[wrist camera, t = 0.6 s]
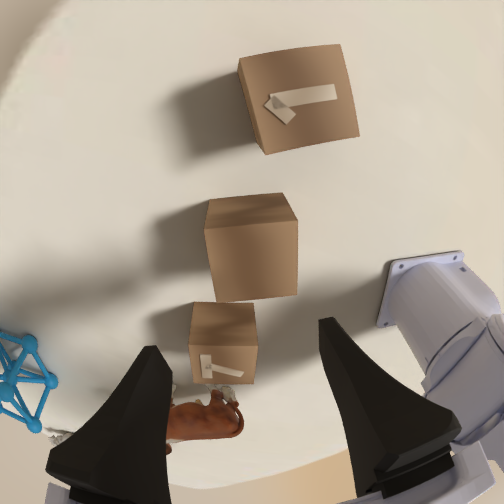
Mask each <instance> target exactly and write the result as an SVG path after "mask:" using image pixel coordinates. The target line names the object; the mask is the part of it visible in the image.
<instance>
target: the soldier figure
mask: <svg viewBox="0 0 504 504" xmlns="http://www.w3.org/2000/svg"><path fill="white" fill-rule="evenodd" d="M71 435H73V433H70V432H69V433H66V434H64V435H63V436H62V435H60V436H57V437H56V438H55V436H54V435H53V436H52V437H48V438H49V441H50V442H51V443H52V444H53V445H54V446H56V445H59V444H60V443H62V442H63V441H65V440H66V439H67V438H69V437H70V436H71Z"/></svg>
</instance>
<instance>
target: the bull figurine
mask: <svg viewBox="0 0 504 504" xmlns="http://www.w3.org/2000/svg"><path fill="white" fill-rule="evenodd" d="M204 385H205V386H207V387H208V389H209V391H210V393H211V400H210V403H209V405H207V406H204V405H203V404H202V402H201V401H200V400H199V399H198V400H196V401H195V402H188V403H183V404H180V405H175V404H173V393H174V391H175V390H176V385H175V384H173V383H172V397H171V404H170V411H169V418H168V425H167V433H166V444H167V443H177V442H181V441H186V440H199V439H221V438H232V437H235V436H237V435H239V434H240V433H241V432H242V430H243V427H244V419H243V416H242V414H241V412H240V411H239V409H238V408H237V407H238V406H239V403H238V402H237V400H236V397H235V391H234V390H231V388H230V387H225V386H223V387H222V390H221V391H219V390H218V389H217V388H216V386H215V384H204ZM222 399H224V400H225V401H226V402H227V404H226V405H225V403H224V401H223V400H222ZM235 411H236V413H237V414H238V416H239V418H238V416H237V415H236V413H235Z"/></svg>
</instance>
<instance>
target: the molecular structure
mask: <svg viewBox="0 0 504 504" xmlns="http://www.w3.org/2000/svg"><path fill="white" fill-rule="evenodd" d="M0 337H1V338H3V339H6V340H9V341H12V342H15V343H18V344H21V345H22V348H23V351H22V352H21V354H20V356H19V357H18V359H17V361H11V359H10V357H9V356H8V354H7V352H6V351H5V349H4V347H3V346H2V344H1V342H0V361H1V363H2V366H3V368H4V373H3V375H2V374H0V380H3V381H4V382H0V414H1V413H2V412H3V413H5V414H7V415H9V416H11V417H13V418H15V419H17V420H19V421H21V422H23V423H25V424H26V425H27V428H28V429H29V430H30V431H31V432H33V433H39V432H41V430H42V424H41V422H40V420H39V418H40V415H41V412H42V409H43V407H44V404H45V401H46V399H47V396H48V394H49V391H50V389H55V388H56V387H57V386H58V379H57V377H56V376H55V375H54V374H52V373H48V372H47V370H46V368H45V366H44V365H43V363H42V361H41V359H40V358H39V356H38V354H37V352H36V350H37V348H38V344H37V341H36V339H35V338H34V337H33V336H31V335H26V336H24V337H23V339H20V338H17V337H14V336H11V335H8V334H5V333H2V332H0ZM27 354H32V355H33V357H34V359H35V360H36V362H37V364H38V365H39V367H40V369H41V370H42V372H43V374H44V375H45V376H41V375H38V374H35V373H32V372H29V371H26V370H24V369H21V368H20V367H21V365H22V363H23V361H24V360H25V358H26V356H27ZM3 355H4V357H5V358H6V360H7V362H8V366H7V364H6V362H5V359H4V357H3ZM19 373H22V374H24V375H27V376H30V377H20V376H17V375H18V374H19ZM32 377H33V378H32ZM17 382H29V383H44V384H45V386H46V387H45V390H44V392H43V395H42V397H41V400H40V402H39V405H38V408H37V410H36V413H35V416H31V414H30V412H29V410H28V408H27V407H26V405H25V403H24V401H23V399H22V397H21V395H20V393H19V391H18V389H17V387H16V384H17ZM14 393H15V395H16V397H17V399H18V401H19V403H20V405H21V406H20V405H19V404H18V403H17V402H16V401H15V399H14ZM1 401H4V402H11V404H12V405H13V406H14V407H15V408H16V409H17V410H18V411H19V413H20V414H21V415H22V416H23V417H24V418H23V417H21V416H19V415H17V414H15V413H13V412H11V411H9V410H7V409H5V408H3V406H2V404H1ZM21 407H22V408H21Z"/></svg>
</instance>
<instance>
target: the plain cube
mask: <svg viewBox="0 0 504 504" xmlns="http://www.w3.org/2000/svg"><path fill="white" fill-rule="evenodd" d="M204 235H205V241H206V247H207V253H208V259H209V264H210V270H211V275H212V281H213V286H214V292H215V297H216V302H217V303H223V302H235V301H245V300H255V299H265V298H274V297H283V296H292V295H297V279H298V220H297V218H296V216H295V214H294V212H293V211H292V209H291V207H290V205H289V203H288V201H287V200H286V198H285V196H284V194H283V193H270V194H258V195H247V196H237V197H227V198H218V199H210V201H209V206H208V210H207V215H206V220H205V225H204Z"/></svg>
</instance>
